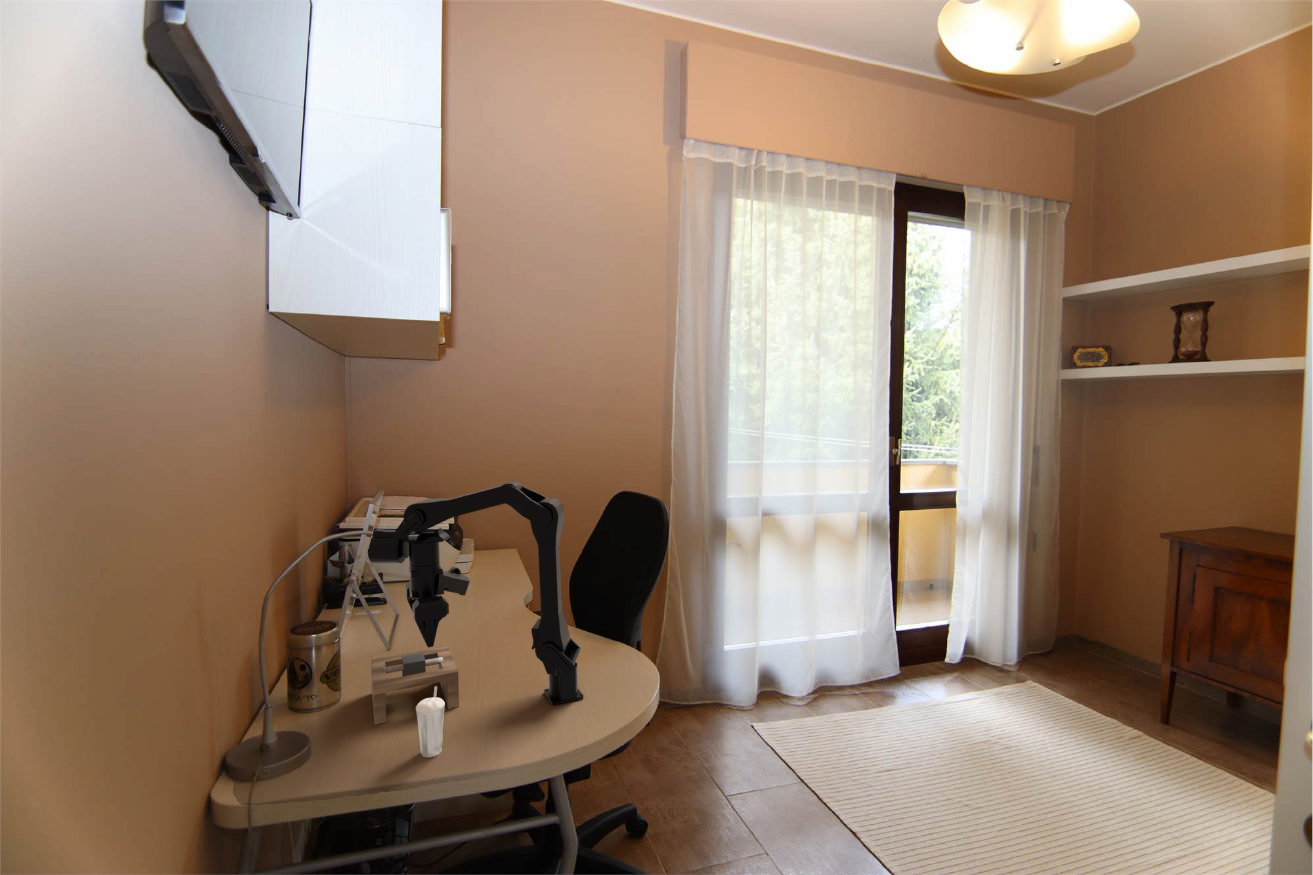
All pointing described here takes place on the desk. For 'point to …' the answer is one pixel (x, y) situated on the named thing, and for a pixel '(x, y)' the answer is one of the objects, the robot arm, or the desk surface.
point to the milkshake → (430, 725)
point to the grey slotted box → (413, 664)
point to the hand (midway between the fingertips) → (427, 639)
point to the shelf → (413, 678)
